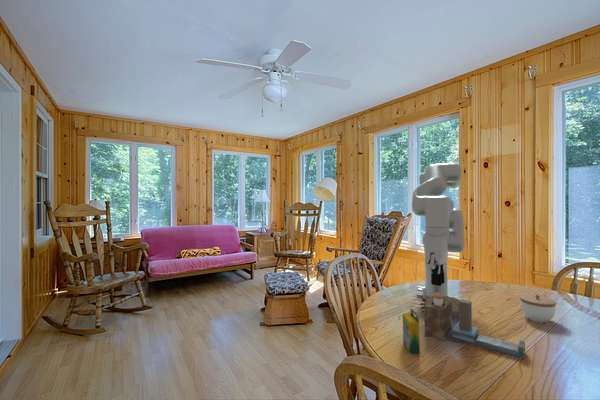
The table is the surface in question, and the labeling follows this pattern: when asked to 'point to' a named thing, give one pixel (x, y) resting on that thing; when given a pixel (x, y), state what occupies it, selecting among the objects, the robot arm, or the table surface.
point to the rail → (493, 344)
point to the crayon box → (411, 332)
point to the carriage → (465, 323)
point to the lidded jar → (538, 307)
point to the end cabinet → (437, 319)
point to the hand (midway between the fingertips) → (437, 283)
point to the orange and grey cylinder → (438, 299)
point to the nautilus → (446, 298)
